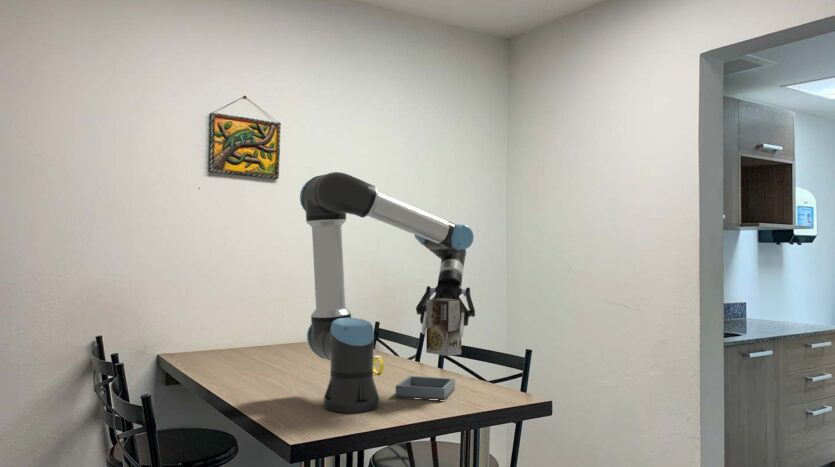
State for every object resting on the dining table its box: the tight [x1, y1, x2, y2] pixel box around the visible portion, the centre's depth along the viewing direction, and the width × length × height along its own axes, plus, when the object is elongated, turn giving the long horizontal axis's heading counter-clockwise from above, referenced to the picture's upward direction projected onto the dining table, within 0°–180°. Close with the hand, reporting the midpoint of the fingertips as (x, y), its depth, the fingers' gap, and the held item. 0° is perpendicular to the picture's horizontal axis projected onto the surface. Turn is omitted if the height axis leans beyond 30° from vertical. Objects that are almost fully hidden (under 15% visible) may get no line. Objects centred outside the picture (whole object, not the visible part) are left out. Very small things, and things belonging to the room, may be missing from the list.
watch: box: [373, 355, 384, 375], centre depth 214 cm, size 6×3×6 cm, turn 37°
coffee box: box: [425, 298, 463, 357], centre depth 183 cm, size 9×6×16 cm
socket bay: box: [395, 375, 456, 401], centre depth 183 cm, size 14×14×4 cm
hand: (442, 332), depth 180 cm, fingers closed on coffee box, 11 cm apart
